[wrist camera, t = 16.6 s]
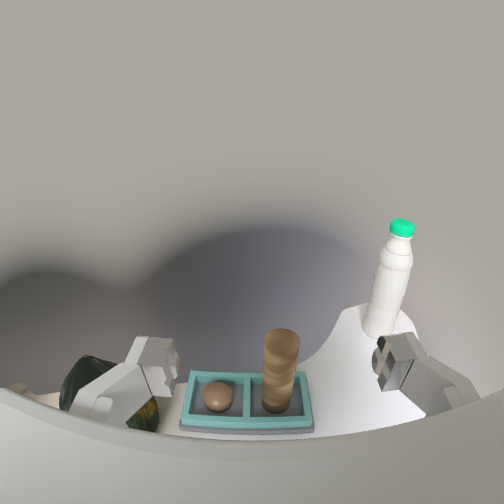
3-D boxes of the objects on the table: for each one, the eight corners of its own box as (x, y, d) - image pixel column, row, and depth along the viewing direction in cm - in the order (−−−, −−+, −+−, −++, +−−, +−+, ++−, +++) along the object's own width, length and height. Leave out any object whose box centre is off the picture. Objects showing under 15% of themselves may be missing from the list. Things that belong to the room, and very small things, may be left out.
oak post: (261, 413, 39) (264, 352, 33) (261, 391, 43) (263, 328, 37) (291, 413, 39) (302, 351, 33) (288, 391, 43) (297, 328, 37)
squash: (123, 482, 23) (124, 372, 27) (43, 438, 26) (42, 343, 30) (170, 450, 36) (175, 365, 41) (97, 424, 39) (100, 347, 43)
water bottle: (355, 326, 59) (377, 217, 49) (377, 317, 62) (400, 214, 51) (376, 345, 53) (406, 230, 43) (397, 333, 56) (428, 226, 45)
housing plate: (180, 430, 37) (175, 418, 35) (190, 379, 47) (187, 365, 45) (313, 432, 37) (317, 420, 35) (305, 380, 46) (307, 366, 45)
